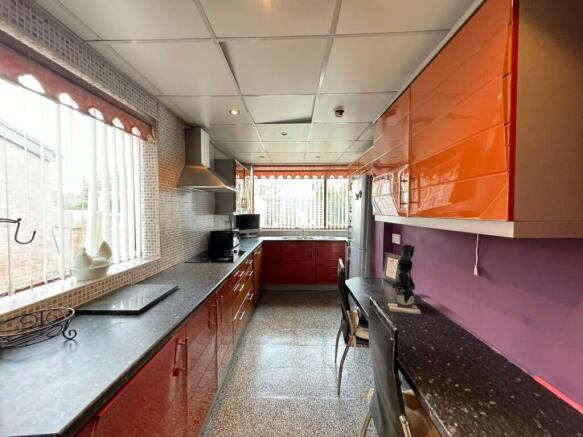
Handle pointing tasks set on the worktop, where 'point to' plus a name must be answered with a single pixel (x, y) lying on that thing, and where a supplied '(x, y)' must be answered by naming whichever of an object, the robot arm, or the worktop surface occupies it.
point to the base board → (403, 309)
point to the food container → (402, 303)
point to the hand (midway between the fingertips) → (404, 300)
